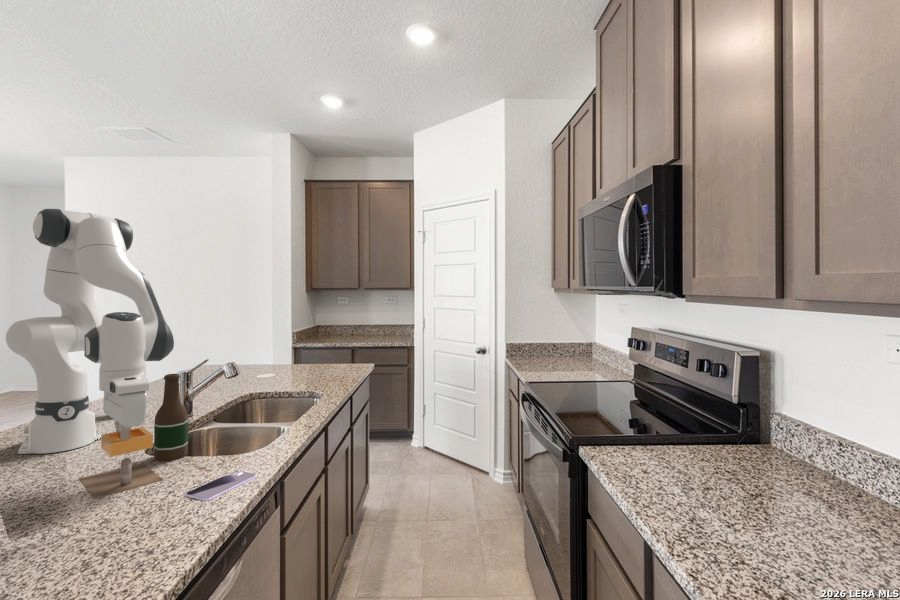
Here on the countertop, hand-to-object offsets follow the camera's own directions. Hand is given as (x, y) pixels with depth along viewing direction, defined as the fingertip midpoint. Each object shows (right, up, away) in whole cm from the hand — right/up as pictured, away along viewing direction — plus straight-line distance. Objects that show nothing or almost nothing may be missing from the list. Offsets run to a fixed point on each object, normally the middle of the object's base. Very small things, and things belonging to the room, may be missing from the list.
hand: (122, 438), depth 102 cm
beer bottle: (+2, -12, +15) cm, 19 cm away
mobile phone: (+23, -12, +1) cm, 26 cm away
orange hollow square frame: (+3, -2, -2) cm, 4 cm away
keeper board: (-1, -11, 0) cm, 11 cm away
